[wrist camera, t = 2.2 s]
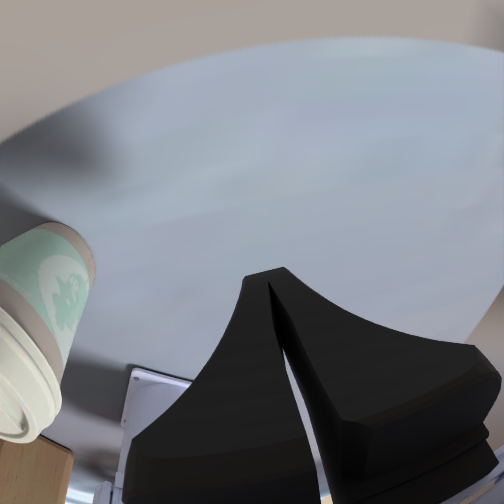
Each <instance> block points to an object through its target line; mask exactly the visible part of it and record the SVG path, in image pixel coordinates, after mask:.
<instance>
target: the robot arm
mask: <svg viewBox="0 0 504 504" xmlns="http://www.w3.org/2000/svg"><path fill="white" fill-rule="evenodd" d="M282 347H283V348H282ZM283 350H284V352H285V355H286V357H287V360H288V362H289V365H290V367H291V370H292V372H293V375H294V377H295V380H296V382H297V385H298V387H299V389H300V392H301V394H302V397H303V399H304V402H305V405H306V408H307V410H308V414H309V417H310V421H311V424H312V428H313V431H314V435H315V438H316V442H317V445H318V449H319V453H320V456H321V460H322V464H323V467H324V471H325V475H326V478H327V482H328V486H329V490H330V494H331V497H332V501H333V504H459V503H461V502H463V501H464V500H466V499H468V498H469V497H471V496H473V495H474V494H476V493H477V492H479V491H480V490H482V489H483V488H485V487H486V486H488V485H489V484H491V483H492V482H494V481H495V480H496V479H497V480H496V482H495V484H494V486H493V487H492V488H490V489H489V490H488V491H486V492H485V493H484V494H482V495H481V496H479V497H478V498H476V499H475V500H473V501H472V502H471V503H469V504H504V445H503V446H502V447H501V448H499V449H498V450H496V451H495V452H493V451H492V449H491V448H490V446H489V444H488V443H487V441H486V440H485V439H487V438H488V436H489V431H488V430H487V428H486V427H485V425H484V424H483V421H484V420H485V418H486V416H487V415H488V413H489V411H490V410H491V408H492V406H493V404H494V402H495V401H496V399H497V396H498V394H499V392H500V389H501V380H502V378H501V376H500V374H499V373H498V371H497V370H496V369H495V368H494V366H493V365H492V364H491V363H490V361H489V360H488V359H487V358H486V357H485V356H484V355H483V354H482V353H481V351H479V349H478V348H476V347H475V345H469V344H460V343H452V342H445V341H437V340H432V339H427V338H423V337H419V336H414V335H410V334H406V333H403V332H399V331H396V330H393V329H390V328H387V327H384V326H381V325H378V324H375V323H373V322H370V321H368V320H365V319H363V318H361V317H359V316H357V315H355V314H352V313H350V312H348V311H346V310H344V309H342V308H340V307H339V306H337V305H335V304H334V303H332V302H330V301H329V300H327V299H326V298H324V297H323V296H321V295H320V294H318V293H317V292H315V291H314V290H313V289H311V288H310V287H308V286H307V285H306V284H304V283H303V282H302V281H301V280H299V279H298V278H297V277H296V276H294V275H293V274H292V273H291V272H290V271H289V270H288V269H286V268H285V267H280V268H276V269H272V270H268V271H264V272H260V273H256V274H252V275H248V276H245V277H244V279H243V281H242V287H241V291H240V295H239V298H238V301H237V304H236V307H235V310H234V312H233V315H232V317H231V320H230V322H229V324H228V326H227V328H226V330H225V333H224V335H223V337H222V338H221V340H220V342H219V344H218V346H217V347H216V349H215V351H214V352H213V354H212V356H211V357H210V359H209V360H208V362H207V363H206V365H205V366H204V367H203V369H202V370H201V372H200V373H199V374H198V376H197V377H196V378H195V380H194V381H193V382H189V381H185V380H181V379H177V378H173V377H169V376H166V375H162V374H158V373H155V372H151V371H148V370H144V369H141V368H133V369H132V372H131V377H130V381H129V386H128V390H127V395H126V400H125V404H124V409H123V414H122V419H121V427H122V428H124V435H123V440H122V446H121V452H120V459H119V465H118V472H116V476H115V483H114V487H112V483H111V482H108V481H104V482H103V484H100V485H98V486H97V487H96V490H95V494H94V499H93V504H321V499H320V492H319V485H318V478H317V471H316V466H315V462H314V459H313V455H312V452H311V448H310V444H309V441H308V437H307V434H306V431H305V428H304V425H303V422H302V419H301V416H300V413H299V410H298V407H297V403H296V400H295V397H294V394H293V391H292V388H291V384H290V381H289V378H288V375H287V371H286V367H285V360H284V354H283Z"/></svg>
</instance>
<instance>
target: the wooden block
mask: <svg viewBox="0 0 504 504" xmlns="http://www.w3.org/2000/svg"><path fill="white" fill-rule="evenodd" d="M73 462H74V456H73V453H72V452H71V451H70V450H68V449H66V448H64V447H62V446H60V445H57V444H55V443H53V442H52V441H50V440H48V439H46V438H44V437H42V436H40V435H38V436H37V437H36V439H35V440H33V441H32V442H29V443H14V442H10V441H7V440H3V439H1V438H0V504H65V498H66V493H67V489H68V484H69V479H70V475H71V470H72V466H73Z"/></svg>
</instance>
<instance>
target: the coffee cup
mask: <svg viewBox="0 0 504 504" xmlns="http://www.w3.org/2000/svg"><path fill="white" fill-rule="evenodd" d="M94 278H95V263H94V258H93V255H92V253H91V250H90V249H89V247H88V245H87V244H86V242H85V241H84V239H83V238H82V237H81V236H80V235H79V234H78V233H77V232H76V231H74V230H73V229H71V228H70V227H68V226H66V225H63V224H60V223H54V222H49V223H44V224H41V225H39V226H37V227H35V228H33V229H31V230H29V231H27V232H25V233H23V234H21V235H19V236H18V237H16V238H14V239H12V240H10V241H8V242H7V243H5V244H3V245H1V246H0V438H1V439H3V440H7V441H10V442H14V443H29V442H32V441H33V440H35V439H36V437H37V436H38V435H39V434H40V432H41V431H42V430H43V429H44V428H46V427H48V426H49V425H50V424H51V423H52V422H53V420H54V418H55V416H56V415H57V414H58V413H59V411H60V408H61V404H62V397H61V391H60V383H61V380H62V376H63V373H64V369H65V366H66V362H67V359H68V355H69V352H70V349H71V345H72V342H73V339H74V336H75V333H76V330H77V327H78V324H79V321H80V318H81V315H82V312H83V309H84V306H85V304H86V301H87V298H88V295H89V292H90V290H91V287H92V284H93V281H94Z"/></svg>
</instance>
